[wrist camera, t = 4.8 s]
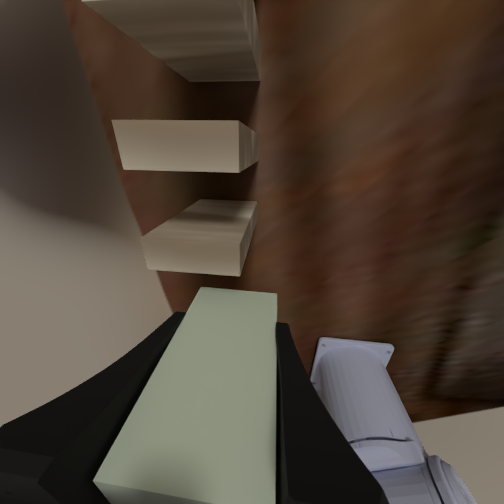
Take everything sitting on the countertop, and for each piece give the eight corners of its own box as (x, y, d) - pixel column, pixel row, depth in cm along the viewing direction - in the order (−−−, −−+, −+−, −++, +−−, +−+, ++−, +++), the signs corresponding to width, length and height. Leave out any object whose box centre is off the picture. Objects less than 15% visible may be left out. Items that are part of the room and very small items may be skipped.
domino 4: (274, 315, 14) (270, 534, 6) (203, 307, 15) (111, 503, 7) (277, 293, 13) (275, 515, 5) (201, 286, 14) (92, 480, 6)
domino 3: (256, 221, 19) (239, 276, 11) (202, 218, 19) (147, 269, 11) (257, 201, 18) (239, 244, 10) (200, 199, 18) (140, 238, 10)
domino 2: (258, 160, 16) (238, 172, 8) (196, 159, 17) (123, 169, 9) (259, 134, 16) (238, 120, 8) (194, 134, 16) (111, 119, 8)
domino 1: (260, 80, 14) (236, -8, 6) (189, 81, 15) (82, 1, 7) (261, 45, 13) (234, -108, 5) (186, 48, 14) (59, -91, 6)
